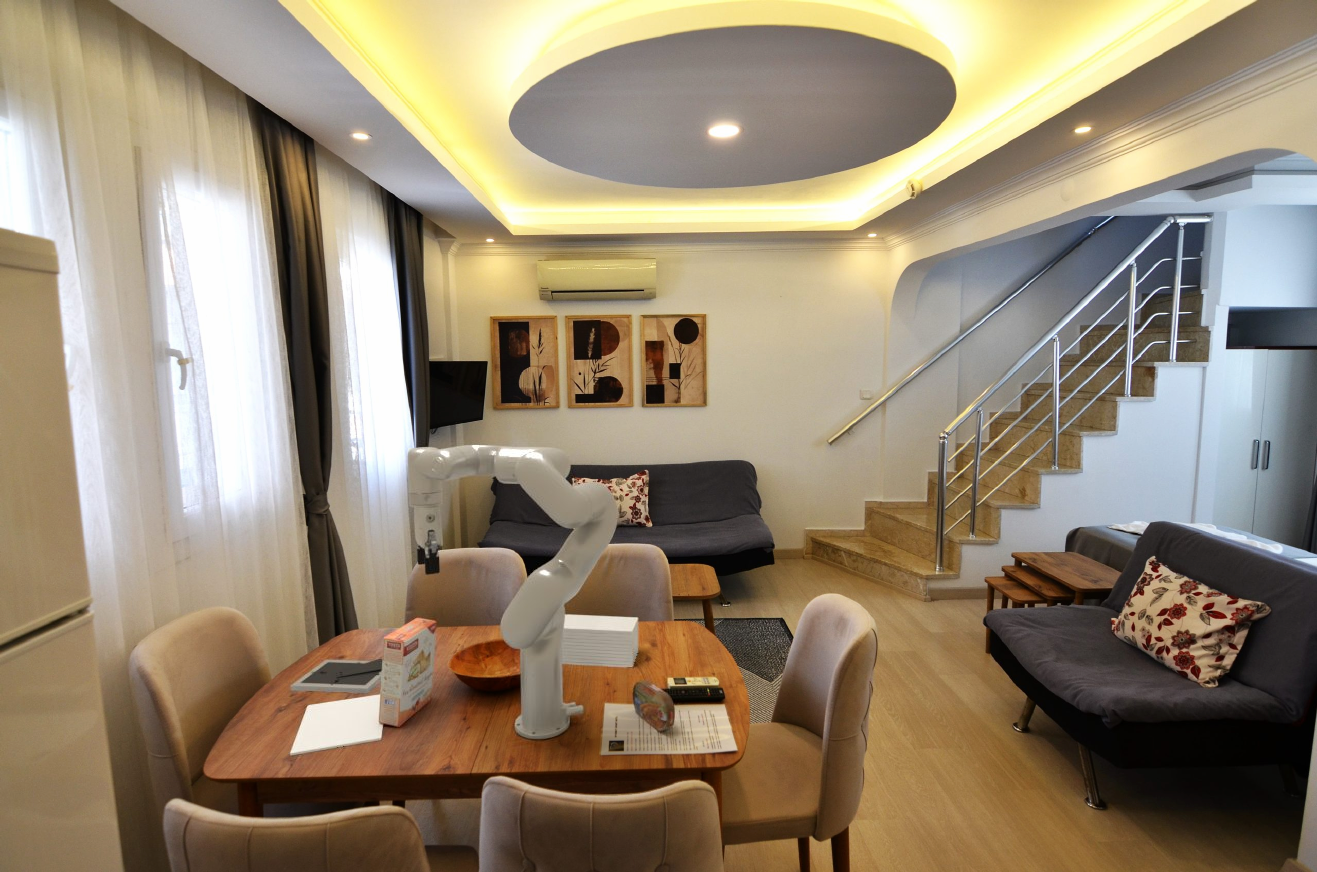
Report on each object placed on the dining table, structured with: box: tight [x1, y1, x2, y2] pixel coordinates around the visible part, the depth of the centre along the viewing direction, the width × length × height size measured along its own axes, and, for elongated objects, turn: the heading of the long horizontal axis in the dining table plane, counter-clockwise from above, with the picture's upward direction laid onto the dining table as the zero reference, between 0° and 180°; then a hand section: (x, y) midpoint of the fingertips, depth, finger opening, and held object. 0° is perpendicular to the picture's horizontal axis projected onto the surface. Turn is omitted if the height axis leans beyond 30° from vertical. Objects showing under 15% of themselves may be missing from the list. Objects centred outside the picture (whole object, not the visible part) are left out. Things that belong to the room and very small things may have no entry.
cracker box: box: [379, 617, 438, 728], centre depth 155 cm, size 14×6×21 cm, turn 168°
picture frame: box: [289, 658, 383, 695], centre depth 175 cm, size 16×3×21 cm
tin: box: [632, 680, 676, 732], centre depth 152 cm, size 15×3×8 cm, turn 33°
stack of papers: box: [562, 613, 639, 668], centre depth 188 cm, size 32×11×11 cm, turn 83°
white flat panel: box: [289, 693, 384, 757], centre depth 152 cm, size 18×22×1 cm
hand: (428, 568), depth 157 cm, fingers open, 9 cm apart
